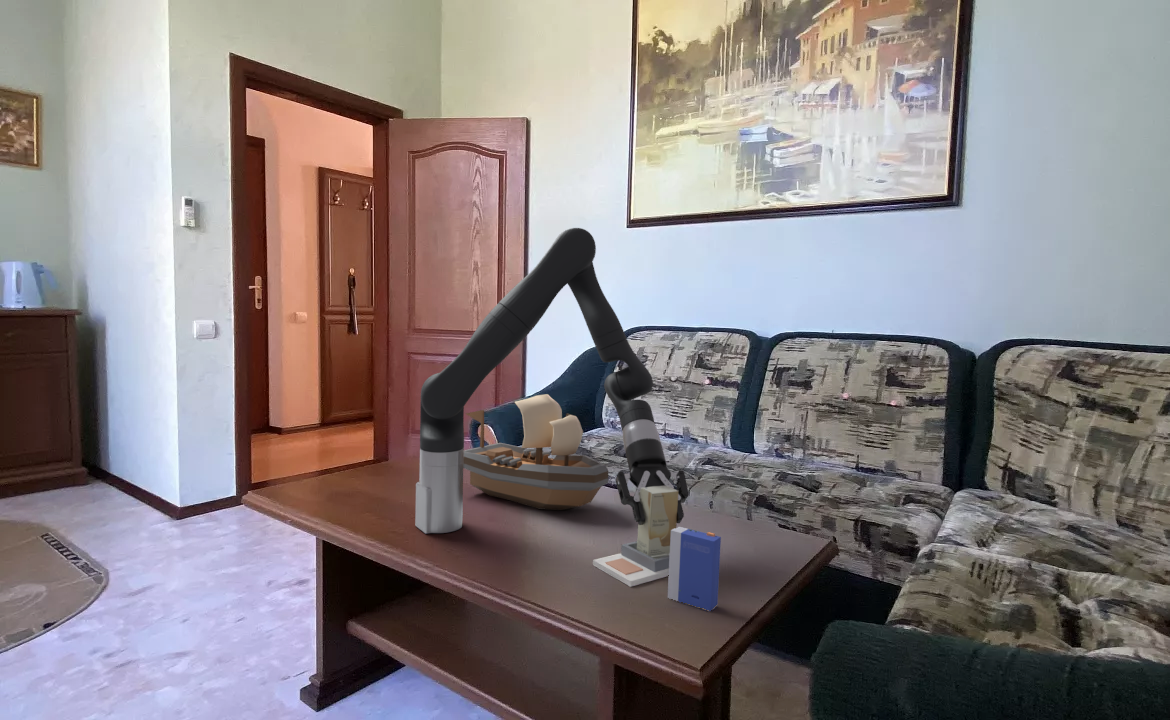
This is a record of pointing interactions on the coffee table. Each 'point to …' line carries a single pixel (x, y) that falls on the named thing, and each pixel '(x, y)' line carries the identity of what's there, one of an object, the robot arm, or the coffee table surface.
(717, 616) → the coffee table surface
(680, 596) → the walkman
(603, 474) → the sailing ship
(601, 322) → the robot arm
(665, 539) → the skincare box
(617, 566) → the plate
